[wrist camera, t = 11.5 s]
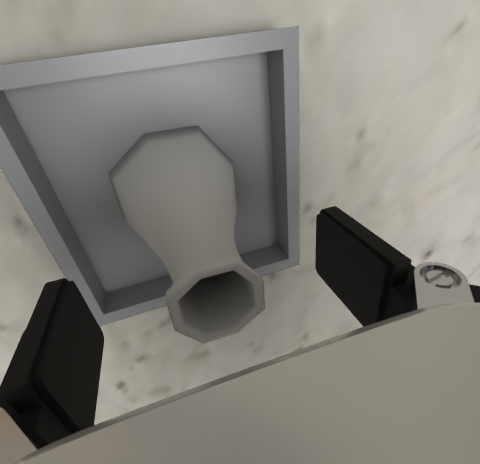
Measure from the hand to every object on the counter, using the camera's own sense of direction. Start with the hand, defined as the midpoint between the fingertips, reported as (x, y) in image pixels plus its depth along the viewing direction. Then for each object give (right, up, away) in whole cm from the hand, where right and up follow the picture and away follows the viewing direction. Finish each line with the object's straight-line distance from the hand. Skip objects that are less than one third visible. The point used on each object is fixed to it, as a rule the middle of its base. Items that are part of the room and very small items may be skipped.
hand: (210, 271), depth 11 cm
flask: (-3, +4, +6) cm, 8 cm away
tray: (-3, +4, +6) cm, 8 cm away
